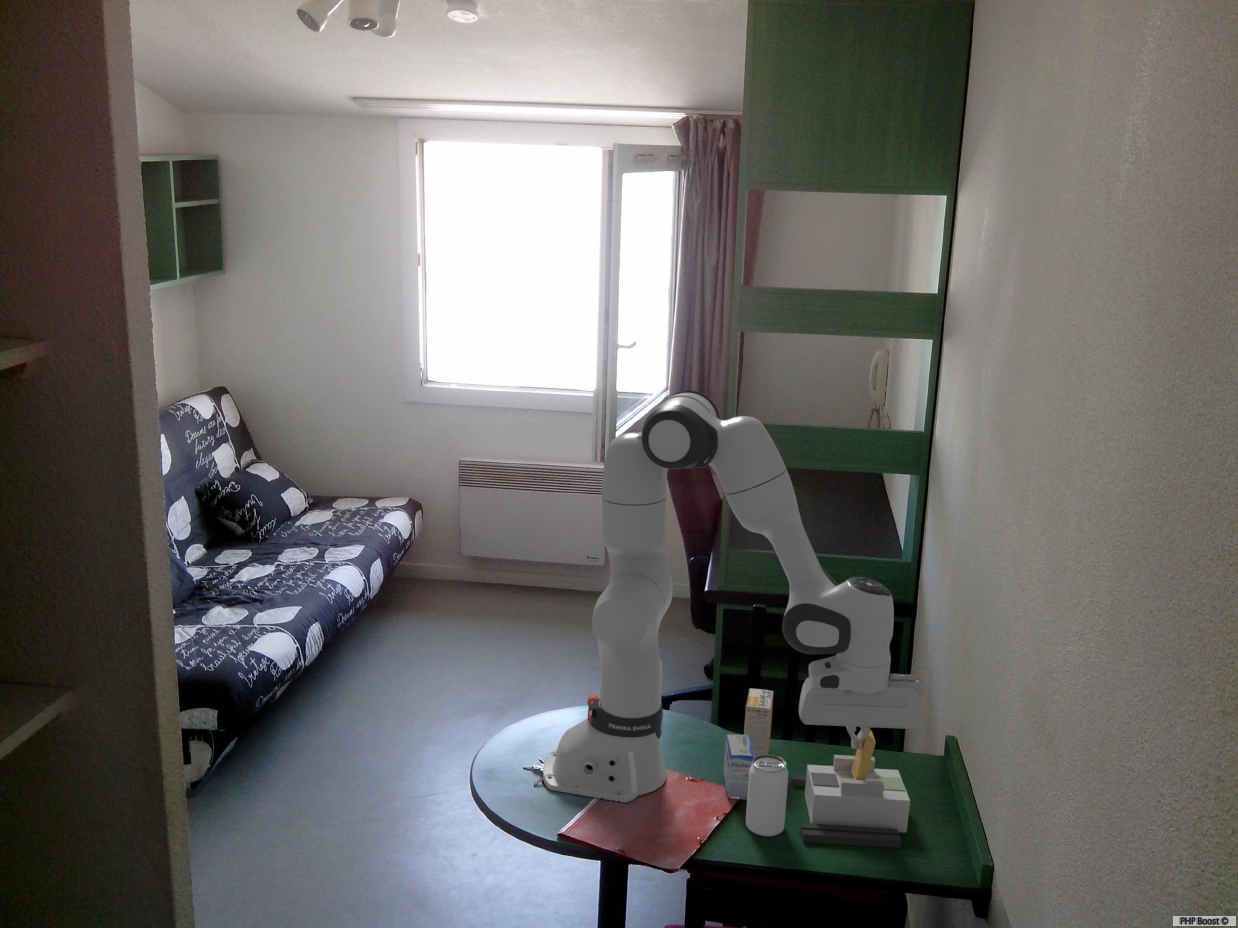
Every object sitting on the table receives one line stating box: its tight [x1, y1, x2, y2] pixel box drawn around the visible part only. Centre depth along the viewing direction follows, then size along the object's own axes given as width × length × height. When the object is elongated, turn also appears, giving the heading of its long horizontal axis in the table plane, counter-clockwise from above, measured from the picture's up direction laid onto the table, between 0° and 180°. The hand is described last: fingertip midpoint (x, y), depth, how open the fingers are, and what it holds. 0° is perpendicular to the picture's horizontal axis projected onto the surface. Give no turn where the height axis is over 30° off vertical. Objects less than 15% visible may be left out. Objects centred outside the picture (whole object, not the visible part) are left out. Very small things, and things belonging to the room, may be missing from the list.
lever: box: [851, 730, 877, 780], centre depth 181 cm, size 2×6×9 cm, turn 177°
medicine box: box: [722, 734, 755, 801], centre depth 189 cm, size 8×4×9 cm, turn 1°
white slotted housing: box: [804, 754, 911, 833], centre depth 182 cm, size 16×10×8 cm, turn 87°
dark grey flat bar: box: [800, 822, 902, 849], centre depth 175 cm, size 16×3×1 cm, turn 87°
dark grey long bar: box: [790, 774, 806, 788], centre depth 191 cm, size 16×1×1 cm, turn 87°
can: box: [745, 754, 789, 838], centre depth 177 cm, size 6×6×12 cm
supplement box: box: [743, 688, 774, 757], centre depth 198 cm, size 8×5×13 cm, turn 168°
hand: (856, 747), depth 180 cm, fingers closed
